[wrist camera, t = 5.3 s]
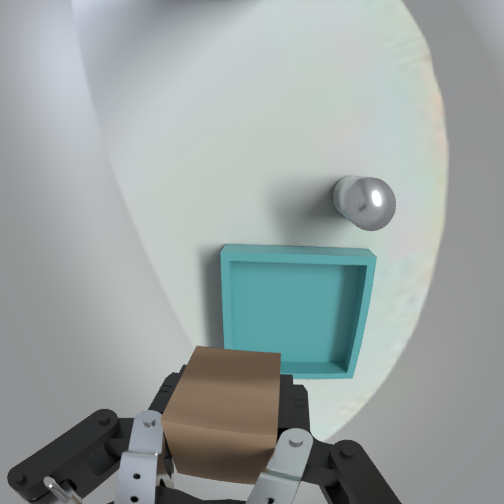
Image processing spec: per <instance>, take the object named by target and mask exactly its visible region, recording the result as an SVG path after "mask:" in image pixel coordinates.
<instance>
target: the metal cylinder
mask: <svg viewBox="0 0 504 504" xmlns="http://www.w3.org/2000/svg"><path fill="white" fill-rule="evenodd" d="M333 202H334V205H335V207H336V209H337V210H338V211H339V212H340V213H341V214H342V215H344V216H345V217H346V218H347V219H349V220H350V221H351V222H352V223H354V224H355V225H356V226H357V227H359V228H360V229H363V230H366V231H376V230H379V229H381V228H383V227H385V226H386V225H387V224H388V223H389V222H390V221H391V219H392V217H393V215H394V213H395V208H396V201H395V196H394V193H393V191H392V189H391V188H390V187H389V185H388V184H386V183H385V182H384V181H382V180H380V179H377V178H372V177H363V176H346V177H344V178H342V179H341V180H339V181H338V183H337V184H336V185H335V187H334V190H333Z"/></svg>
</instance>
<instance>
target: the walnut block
mask: <svg viewBox="0 0 504 504" xmlns="http://www.w3.org/2000/svg"><path fill="white" fill-rule="evenodd" d="M280 367H281V353H273V352H257V351H243V350H232V349H221V348H212V347H203V346H196V348H195V350H194V352H193V354H192V356H191V358H190V360H189V362H188V364H187V366H186V368H185V370H184V372H183V374H182V376H181V378H180V380H179V382H178V384H177V386H176V388H175V390H174V392H173V394H172V396H171V398H170V400H169V402H168V404H167V407H166V409H165V411H164V413H163V415H162V417H161V419H160V421H161V424H162V427H163V431H164V434H165V437H166V440H167V443H168V446H169V449H170V452H171V455H172V458H173V461H174V464H175V466H176V469H177V472H178V473H181V474H186V475H191V476H195V477H200V478H206V479H212V480H219V481H226V482H234V483H242V484H254V485H255V484H256V482H257V480H258V478H259V476H260V474H261V472H262V471H263V470H265V469H266V467H267V465H268V462H269V460H270V458H271V456H272V454H273V452H274V449H275V447H276V440H277V429H278V411H279V391H280Z"/></svg>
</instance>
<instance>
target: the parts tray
mask: <svg viewBox="0 0 504 504" xmlns="http://www.w3.org/2000/svg"><path fill="white" fill-rule="evenodd" d="M220 257H221V287H222V311H223V332H224V349H232V350H243V351H257V352H273V353H281V367H280V374H293V379H345V378H353V375H354V371H355V367H356V363H357V359H358V355H359V351H360V347H361V343H362V338H363V333H364V329H365V324H366V319H367V314H368V309H369V303H370V297H371V292H372V285H373V279H374V272H375V265H376V258H377V257H376V256H375V255H374V254H373V253H372V252H371V251H370V250H369V249H358V248H331V247H303V246H274V245H242V244H226V245H225V246H224V248H223V249H222V250H221V252H220Z"/></svg>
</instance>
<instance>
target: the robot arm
mask: <svg viewBox="0 0 504 504" xmlns="http://www.w3.org/2000/svg"><path fill="white" fill-rule="evenodd" d="M186 366H187V365H183V366H182V368H181V370H180V372H179V373H174V372H173V373H172V374H170V375H169V376H168V377H166V379H165V380H164V382H163V384H162V386H161V387H160V390H159V391H158V393H157V395H156V396H155V398H154V400H153V402H152V403H151V405H150V407H149V409H148V410H146V411H142V412H140V413H139V414H137V415H136V417H135V418H118V417H117V415H116V413H115V412H113V411H112V410H109V409H101V410H98V411H96V412H94V413H93V414H91V415H90V416H88V417H87V418H86V419H84V420H83V421H81V422H80V423H78V424H77V425H76V426H74V427H73V428H71V429H70V430H68V431H67V432H66V433H64V434H63V435H61V436H60V437H58V438H57V439H55V440H54V441H53V442H51V443H50V444H48V445H47V446H45V447H44V448H42V449H41V450H39V451H38V452H36V453H35V454H33V455H32V456H30V457H29V458H27V459H26V460H24V461H22V462H21V463H20V464H18V465H16V466H15V467H13V468H12V469H11V470H10V471H9V473H8V476H7V479H8V483H9V485H10V486H11V487H12V488H13V489H14V490H15V491H16V492H17V493H18V494H19V495H20V496H21V497H22V498H23V499H24V500H25V501H26V502H27V503H28V504H82V499H83V498H84V497H86V496H87V495H88V494H89V493H91V492H92V491H93V490H94V489H95V488H97V487H98V486H99V485H100V484H102V483H103V482H104V481H105V480H106V479H107V478H109V477H110V476H111V475H112V474H113V473H114V472H116V471H117V470H118V469H119V474H118V480H117V487H116V493H115V500H114V501H113V502H110V503H108V504H292V503H293V500H294V498H295V495H296V493H297V490H298V487H299V484H300V482H301V481H305V482H308V483H312V484H317V485H319V487H320V489H321V491H322V493H323V495H324V497H325V499H326V500H327V502H328V504H402V503H401V502H400V501H399V499H398V498H397V497H396V495H395V494H394V492H393V491H392V490H391V488H390V486H389V485H388V484H387V483H386V481H385V479H384V478H383V476H382V475H381V474H380V473H379V471H378V469H377V468H376V466H375V465H374V464H373V462H372V461H371V459H370V458H369V456H368V455H367V453H366V452H365V451H364V449H363V448H362V446H361V445H360V444H358V443H357V442H355V441H352V440H342V441H339V442H337V443H335V444H334V445H332V444H328V443H324V442H321V441H318V440H317V439H315V438H314V437H313V436H312V434H311V432H310V421H309V407H308V406H309V405H308V392H307V390H306V389H305V387H304V386H303V385H294V384H293V374H280V391H279V411H278V429H277V440H276V447H275V449H274V452H273V454H272V456H271V458H270V460H269V462H268V465H267V467H266V469H265V470H263V471H262V472H261V474H260V476H259V478H258V480H257V482H256V484H255V486H254V488H253V490H252V492H251V494H250V496H249V498H248V500H247V501H240V500H231V499H226V500H201V499H198V498H196V497H193V496H191V495H189V494H187V493H184V492H182V491H180V490H176V489H174V482H173V480H174V478H173V477H174V474H173V473H174V461H173V458H172V455H171V452H170V449H169V446H168V443H167V440H166V437H165V434H164V431H163V427H162V424H161V421H160V419H161V417H162V415H163V413H164V411H165V409H166V407H167V404H168V402H169V400H170V398H171V396H172V394H173V392H174V390H175V388H176V386H177V384H178V382H179V380H180V378H181V376H182V374H183V372H184V370H185V368H186ZM91 453H92V454H91Z"/></svg>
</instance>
